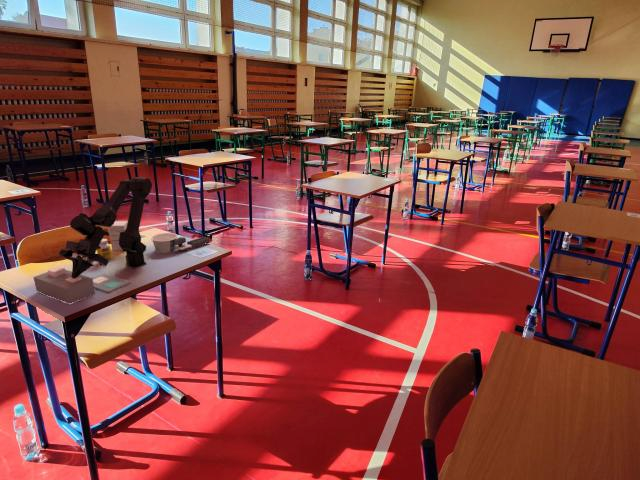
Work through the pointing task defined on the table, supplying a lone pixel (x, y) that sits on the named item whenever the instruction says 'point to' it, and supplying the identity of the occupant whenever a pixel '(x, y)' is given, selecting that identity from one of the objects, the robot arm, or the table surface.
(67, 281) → the button
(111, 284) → the pattern card
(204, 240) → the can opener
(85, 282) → the console
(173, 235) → the food container
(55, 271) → the button
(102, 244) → the supplement bottle
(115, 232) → the white square tower
